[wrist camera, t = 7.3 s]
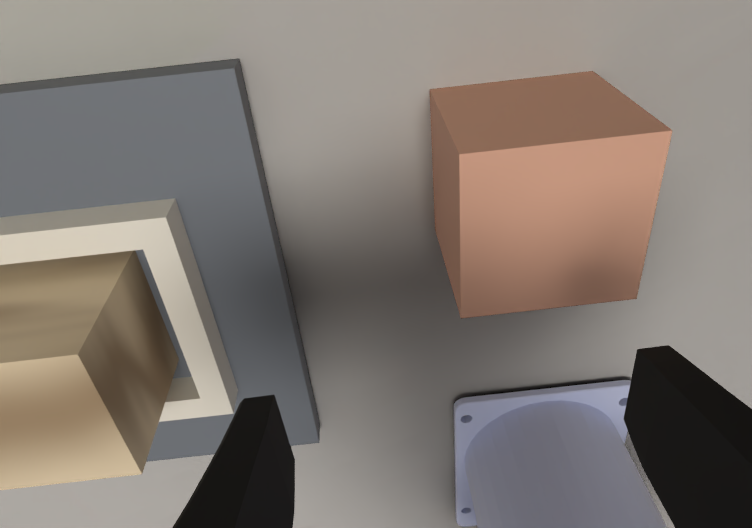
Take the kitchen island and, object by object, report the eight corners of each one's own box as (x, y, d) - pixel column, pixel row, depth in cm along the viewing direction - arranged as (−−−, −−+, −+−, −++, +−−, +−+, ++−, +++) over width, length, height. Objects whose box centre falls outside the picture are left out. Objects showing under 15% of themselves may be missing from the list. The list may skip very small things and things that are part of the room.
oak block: (178, 359, 21) (142, 474, 17) (47, 374, 21) (-21, 492, 17) (134, 248, 19) (77, 354, 14) (-17, 266, 19) (-117, 376, 14)
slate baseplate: (319, 424, 25) (318, 466, 24) (9, 458, 25) (-16, 502, 24) (238, 58, 16) (227, 81, 15) (-243, 111, 16) (-314, 140, 15)
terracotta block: (574, 212, 20) (636, 298, 16) (434, 228, 20) (460, 318, 16) (591, 70, 17) (672, 130, 13) (429, 88, 17) (459, 154, 13)
